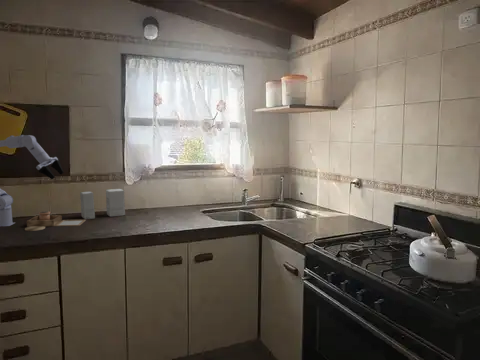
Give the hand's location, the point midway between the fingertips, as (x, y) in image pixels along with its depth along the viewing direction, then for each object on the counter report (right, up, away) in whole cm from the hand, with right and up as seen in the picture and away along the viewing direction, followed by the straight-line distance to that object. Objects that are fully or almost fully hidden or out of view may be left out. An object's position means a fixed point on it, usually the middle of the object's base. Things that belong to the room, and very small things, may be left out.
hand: (58, 175), depth 204 cm
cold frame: (-8, -26, +2) cm, 27 cm away
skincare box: (+8, -24, +19) cm, 32 cm away
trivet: (-7, -27, -9) cm, 29 cm away
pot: (-8, -25, +2) cm, 26 cm away
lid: (+5, -26, +4) cm, 26 cm away
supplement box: (+21, -23, +29) cm, 42 cm away
